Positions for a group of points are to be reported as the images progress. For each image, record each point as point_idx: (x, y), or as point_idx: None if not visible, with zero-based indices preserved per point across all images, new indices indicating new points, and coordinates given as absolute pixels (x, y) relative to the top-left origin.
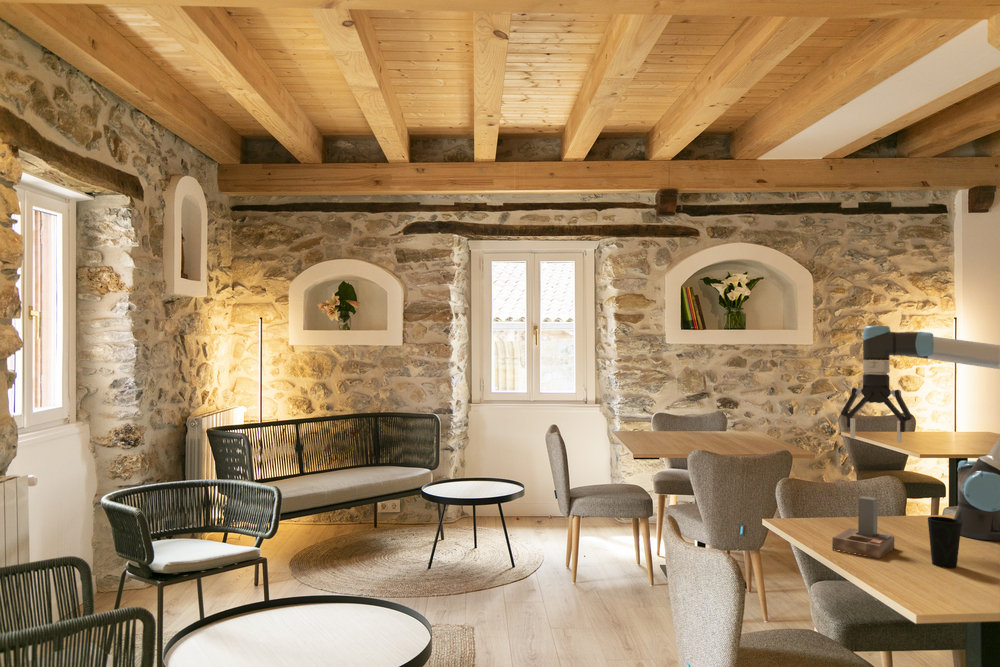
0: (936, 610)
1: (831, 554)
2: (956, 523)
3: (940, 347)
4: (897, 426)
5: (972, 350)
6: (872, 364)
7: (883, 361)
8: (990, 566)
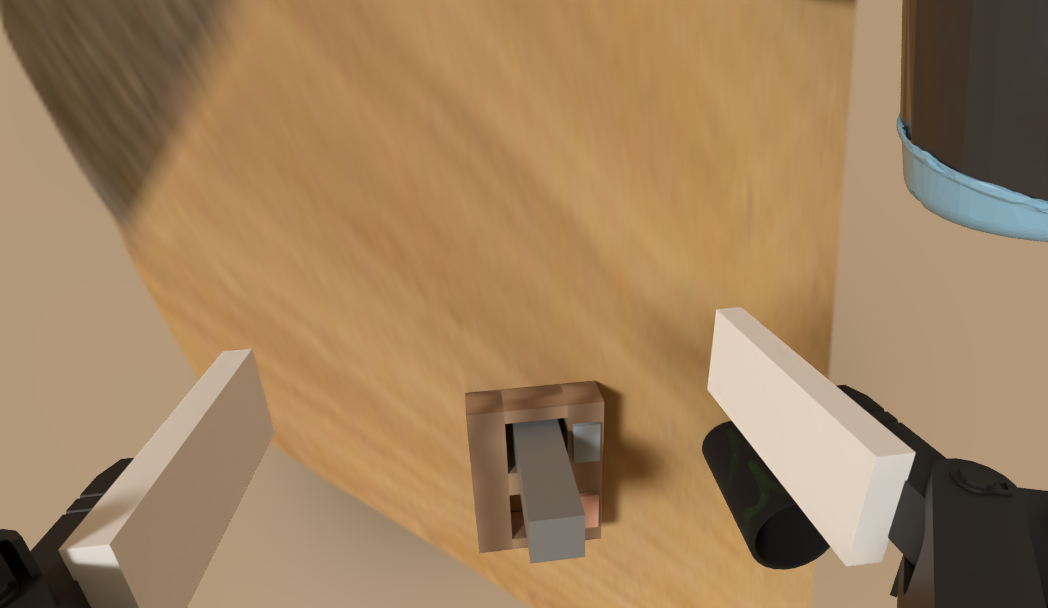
0: None
1: (494, 559)
2: (825, 550)
3: None
4: (806, 510)
5: None
6: None
7: None
8: (827, 364)
